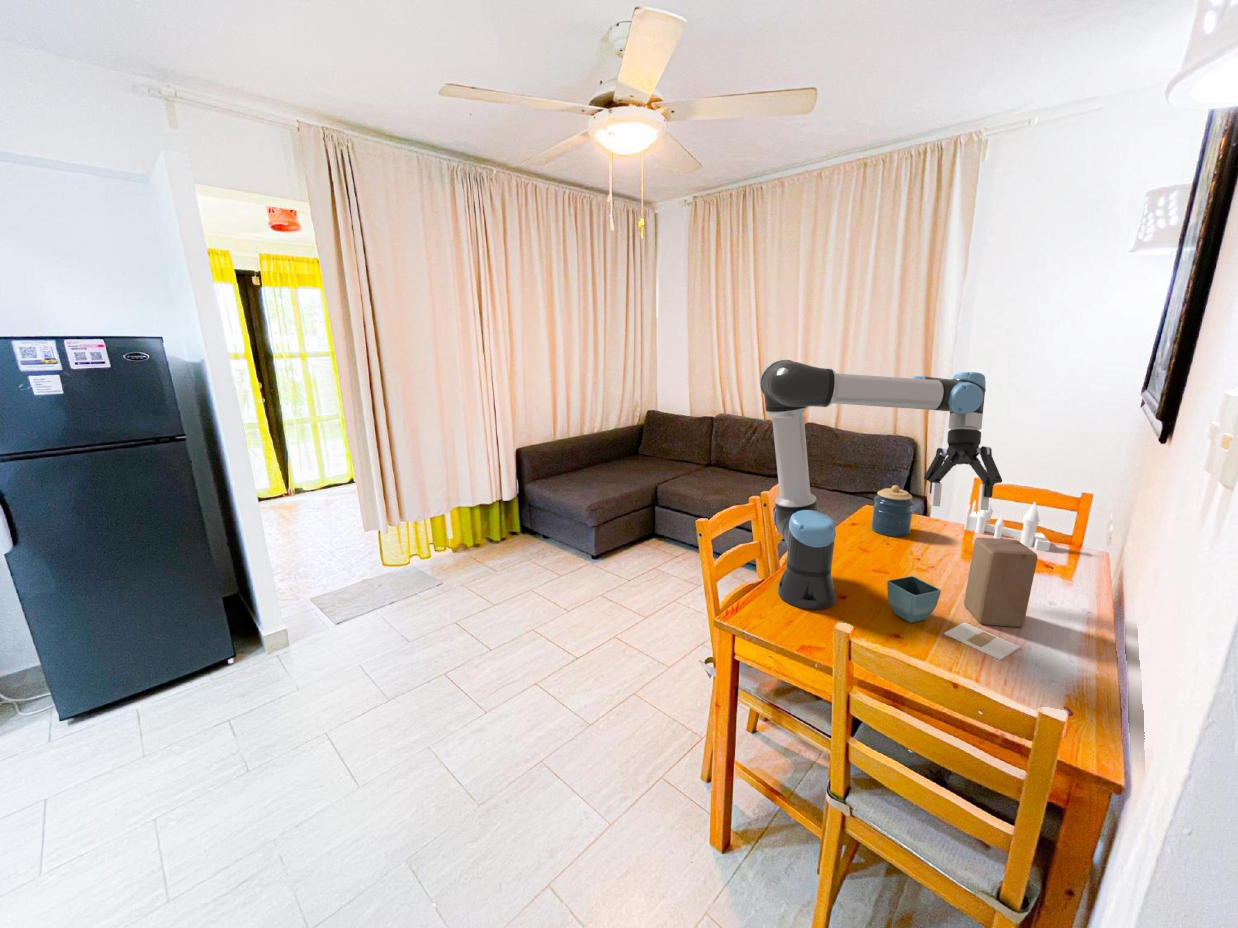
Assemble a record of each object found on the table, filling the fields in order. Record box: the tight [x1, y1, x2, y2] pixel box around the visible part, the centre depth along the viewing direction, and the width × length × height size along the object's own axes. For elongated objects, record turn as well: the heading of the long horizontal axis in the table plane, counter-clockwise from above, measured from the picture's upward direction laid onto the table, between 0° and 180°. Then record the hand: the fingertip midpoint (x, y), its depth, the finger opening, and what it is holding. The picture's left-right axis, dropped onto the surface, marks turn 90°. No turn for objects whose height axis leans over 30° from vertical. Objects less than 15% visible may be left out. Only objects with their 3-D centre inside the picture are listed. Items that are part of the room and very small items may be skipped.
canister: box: [870, 484, 915, 538], centre depth 186 cm, size 13×13×18 cm
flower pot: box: [886, 575, 942, 623], centre depth 130 cm, size 9×9×9 cm
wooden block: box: [963, 537, 1039, 628], centre depth 128 cm, size 10×10×20 cm
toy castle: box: [963, 499, 1051, 552], centre depth 180 cm, size 14×25×16 cm, turn 44°
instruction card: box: [944, 622, 1021, 661], centre depth 120 cm, size 12×9×1 cm
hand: (957, 508), depth 136 cm, fingers open, 13 cm apart
